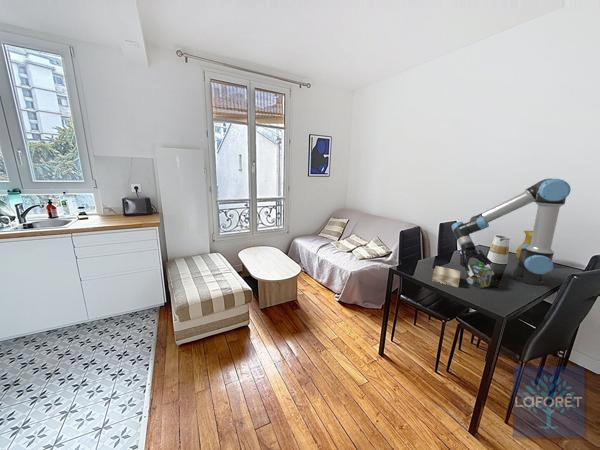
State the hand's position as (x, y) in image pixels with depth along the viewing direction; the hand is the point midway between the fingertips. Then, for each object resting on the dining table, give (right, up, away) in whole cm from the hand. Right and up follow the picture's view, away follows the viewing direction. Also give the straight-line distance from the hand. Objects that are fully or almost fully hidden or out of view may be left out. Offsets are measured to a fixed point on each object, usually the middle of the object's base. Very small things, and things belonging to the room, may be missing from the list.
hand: (482, 275), depth 146 cm
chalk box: (0, -6, +4) cm, 7 cm away
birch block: (-17, -5, +9) cm, 20 cm away
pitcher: (+68, +1, +41) cm, 79 cm away
